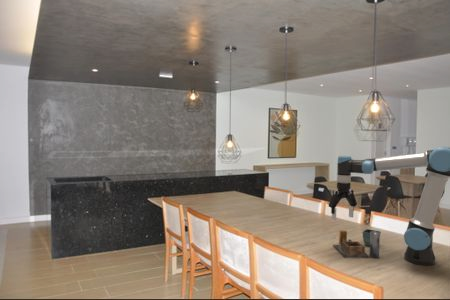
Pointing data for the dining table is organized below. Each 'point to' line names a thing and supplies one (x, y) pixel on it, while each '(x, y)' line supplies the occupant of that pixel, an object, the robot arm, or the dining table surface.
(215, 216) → the dining table surface
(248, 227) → the dining table surface
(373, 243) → the grey metal cylinder
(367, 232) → the flower pot
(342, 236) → the lock pin
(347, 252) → the dock
